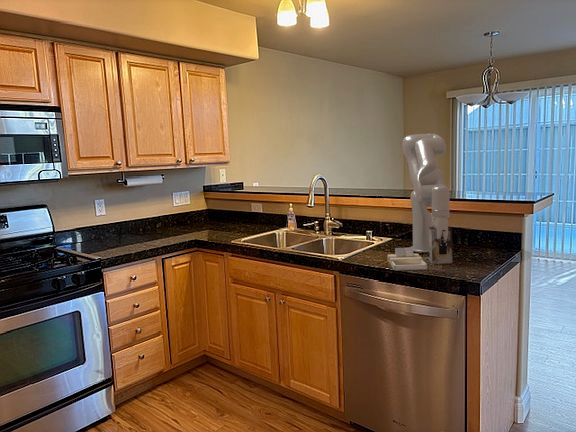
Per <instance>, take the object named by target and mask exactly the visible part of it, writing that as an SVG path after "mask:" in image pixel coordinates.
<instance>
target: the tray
mask: <svg viewBox="0 0 576 432" xmlns="http://www.w3.org/2000/svg"><path fill="white" fill-rule="evenodd" d="M390 266H391V268H392V269H393V271H395V272H396V271H397V272H398V271H419V270H420V271H425V270H426V271H427V270H428V264H427V263H426V262H425V261H424V260H421V264H411V265H395V263H394V262H393V261H391V265H390Z"/></svg>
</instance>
